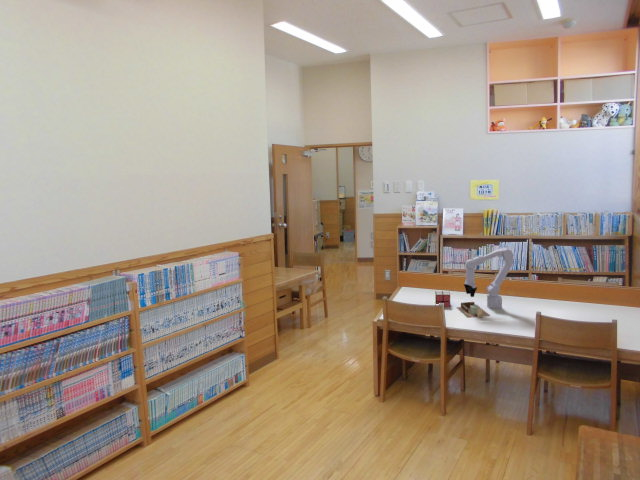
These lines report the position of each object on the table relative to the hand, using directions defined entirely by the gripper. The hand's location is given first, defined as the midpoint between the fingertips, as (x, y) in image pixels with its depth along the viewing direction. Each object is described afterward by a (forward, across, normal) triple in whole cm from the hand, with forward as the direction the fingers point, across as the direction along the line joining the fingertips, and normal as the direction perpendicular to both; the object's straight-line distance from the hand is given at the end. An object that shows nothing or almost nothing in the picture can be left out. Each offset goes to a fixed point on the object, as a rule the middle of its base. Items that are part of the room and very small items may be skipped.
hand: (470, 295), depth 330 cm
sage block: (+9, +17, -2) cm, 19 cm away
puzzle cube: (+10, -9, -17) cm, 22 cm away
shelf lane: (+9, +10, -2) cm, 14 cm away
